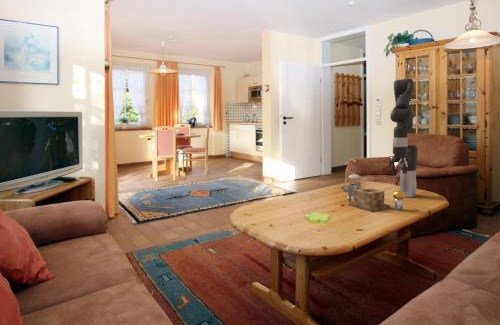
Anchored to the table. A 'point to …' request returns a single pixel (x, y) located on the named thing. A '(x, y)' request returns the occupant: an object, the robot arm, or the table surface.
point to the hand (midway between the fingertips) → (399, 174)
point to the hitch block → (369, 199)
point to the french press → (353, 183)
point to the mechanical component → (349, 190)
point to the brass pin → (399, 199)
